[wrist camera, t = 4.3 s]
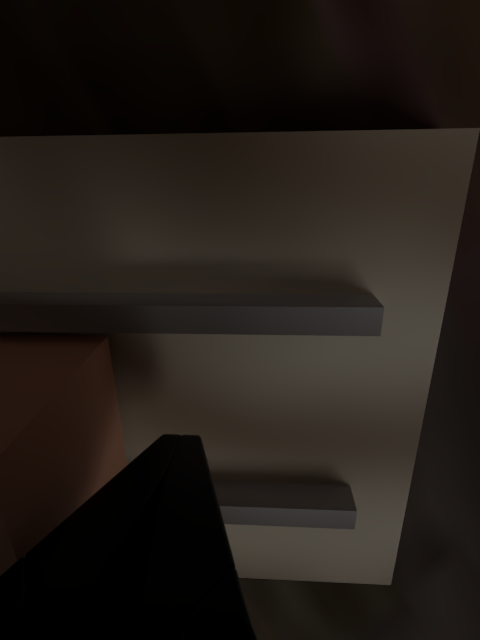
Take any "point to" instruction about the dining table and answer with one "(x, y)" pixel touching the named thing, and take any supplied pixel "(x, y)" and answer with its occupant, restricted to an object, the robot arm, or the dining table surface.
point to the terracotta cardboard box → (53, 433)
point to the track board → (254, 312)
